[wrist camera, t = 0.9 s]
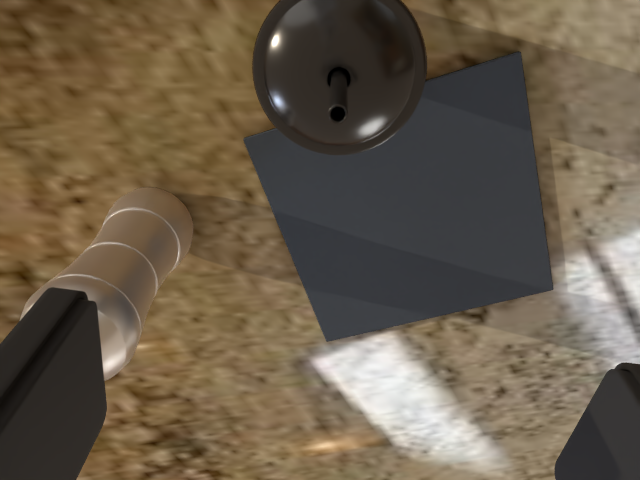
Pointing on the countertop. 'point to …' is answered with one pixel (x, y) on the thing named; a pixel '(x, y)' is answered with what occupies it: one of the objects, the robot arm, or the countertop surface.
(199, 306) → the countertop surface
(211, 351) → the countertop surface
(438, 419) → the countertop surface
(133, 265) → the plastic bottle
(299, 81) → the drinking cup
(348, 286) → the mat
